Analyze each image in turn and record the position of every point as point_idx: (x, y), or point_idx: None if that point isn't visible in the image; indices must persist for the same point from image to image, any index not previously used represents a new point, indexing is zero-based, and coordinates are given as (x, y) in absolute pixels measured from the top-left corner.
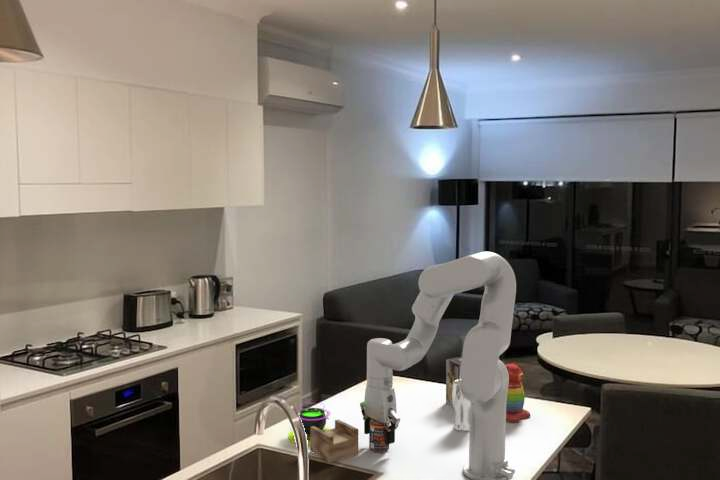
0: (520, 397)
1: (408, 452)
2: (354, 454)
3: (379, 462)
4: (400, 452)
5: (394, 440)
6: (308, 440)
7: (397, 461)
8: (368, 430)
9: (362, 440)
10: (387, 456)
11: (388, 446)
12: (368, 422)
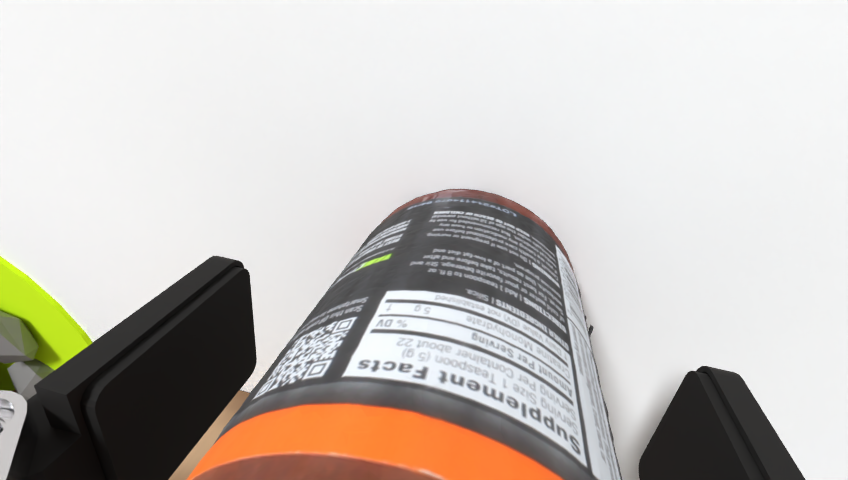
0: None
1: (834, 130)
2: None
3: None
4: (722, 201)
5: (745, 392)
6: None
7: (811, 394)
8: (230, 367)
9: (200, 216)
10: (643, 357)
11: (578, 288)
12: (137, 471)
